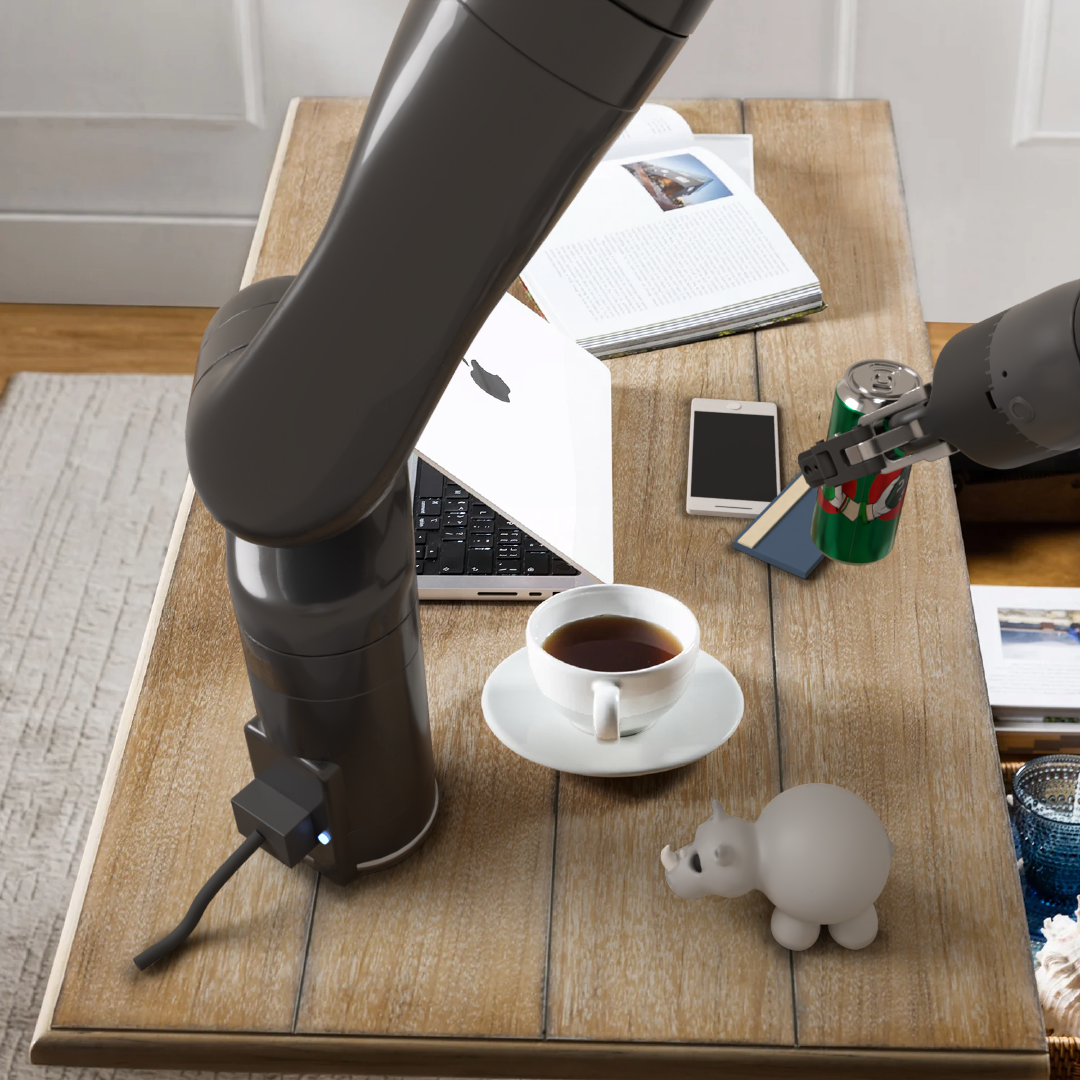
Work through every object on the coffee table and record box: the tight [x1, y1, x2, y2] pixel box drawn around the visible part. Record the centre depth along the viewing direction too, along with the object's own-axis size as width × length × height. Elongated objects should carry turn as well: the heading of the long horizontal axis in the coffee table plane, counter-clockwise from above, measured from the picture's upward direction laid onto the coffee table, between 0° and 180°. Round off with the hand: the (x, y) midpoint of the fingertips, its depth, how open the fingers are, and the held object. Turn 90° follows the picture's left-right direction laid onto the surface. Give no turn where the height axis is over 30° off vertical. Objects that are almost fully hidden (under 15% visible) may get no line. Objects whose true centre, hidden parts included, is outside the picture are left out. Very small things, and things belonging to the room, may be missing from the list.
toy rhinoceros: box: [660, 782, 896, 952], centre depth 67 cm, size 7×12×8 cm, turn 89°
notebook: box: [732, 471, 826, 580], centre depth 96 cm, size 12×6×1 cm, turn 143°
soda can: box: [810, 358, 924, 567], centre depth 75 cm, size 5×5×12 cm
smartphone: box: [685, 397, 781, 520], centre depth 102 cm, size 7×15×1 cm, turn 173°
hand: (843, 455), depth 76 cm, fingers closed on soda can, 5 cm apart
